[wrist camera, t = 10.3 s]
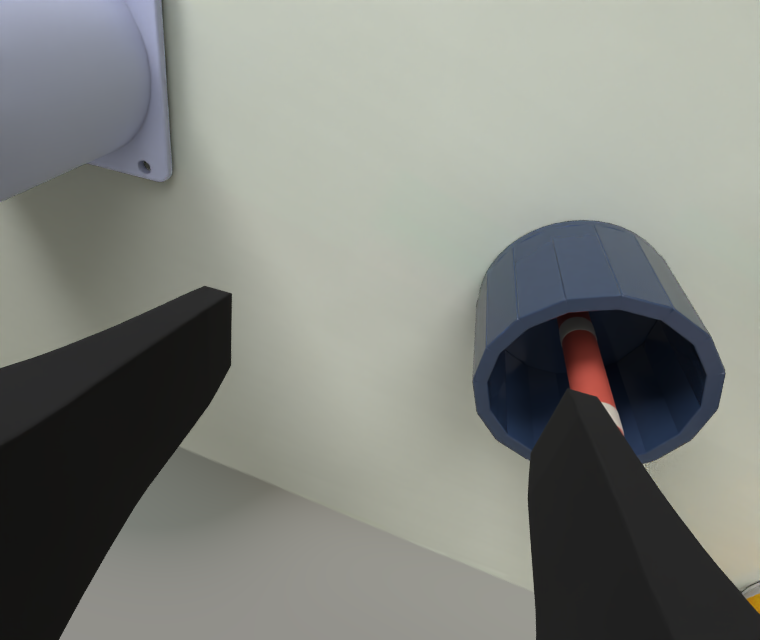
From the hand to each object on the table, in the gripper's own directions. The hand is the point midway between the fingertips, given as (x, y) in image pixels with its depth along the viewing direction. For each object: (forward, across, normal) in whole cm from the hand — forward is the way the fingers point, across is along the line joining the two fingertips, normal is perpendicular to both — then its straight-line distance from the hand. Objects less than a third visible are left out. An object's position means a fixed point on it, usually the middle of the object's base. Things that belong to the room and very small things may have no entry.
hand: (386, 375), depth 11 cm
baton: (+10, -6, +3) cm, 12 cm away
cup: (+11, -6, +3) cm, 13 cm away
